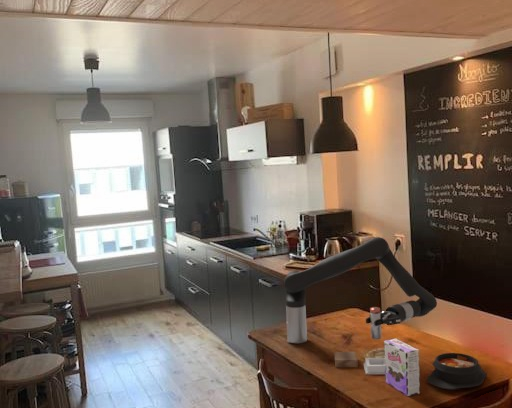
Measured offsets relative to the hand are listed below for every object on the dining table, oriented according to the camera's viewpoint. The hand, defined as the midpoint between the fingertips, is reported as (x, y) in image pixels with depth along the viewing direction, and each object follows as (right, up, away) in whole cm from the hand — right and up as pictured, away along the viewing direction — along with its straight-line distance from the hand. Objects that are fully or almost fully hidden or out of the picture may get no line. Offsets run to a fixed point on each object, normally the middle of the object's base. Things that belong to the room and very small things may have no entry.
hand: (370, 322), depth 207 cm
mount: (-8, -20, +11) cm, 24 cm away
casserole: (+30, -20, -12) cm, 38 cm away
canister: (+3, -7, +2) cm, 8 cm away
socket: (+3, -20, +3) cm, 20 cm away
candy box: (+8, -21, -14) cm, 27 cm away
